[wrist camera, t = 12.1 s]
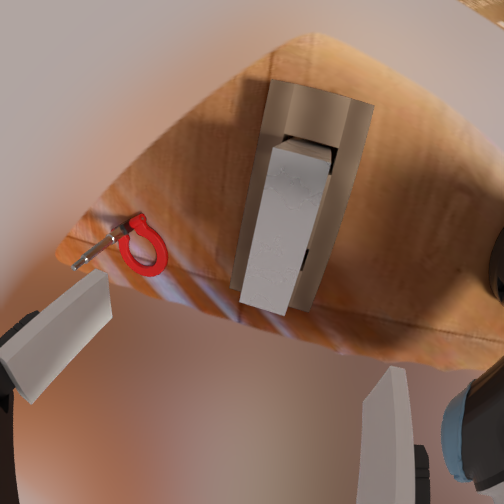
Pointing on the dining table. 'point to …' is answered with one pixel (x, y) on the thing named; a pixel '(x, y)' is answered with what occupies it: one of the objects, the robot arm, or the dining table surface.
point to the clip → (285, 222)
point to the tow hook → (122, 236)
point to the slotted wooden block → (338, 180)
